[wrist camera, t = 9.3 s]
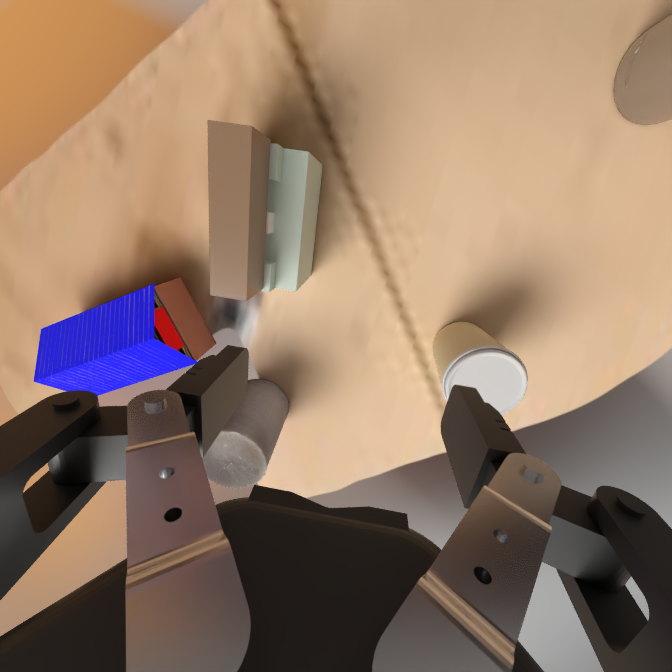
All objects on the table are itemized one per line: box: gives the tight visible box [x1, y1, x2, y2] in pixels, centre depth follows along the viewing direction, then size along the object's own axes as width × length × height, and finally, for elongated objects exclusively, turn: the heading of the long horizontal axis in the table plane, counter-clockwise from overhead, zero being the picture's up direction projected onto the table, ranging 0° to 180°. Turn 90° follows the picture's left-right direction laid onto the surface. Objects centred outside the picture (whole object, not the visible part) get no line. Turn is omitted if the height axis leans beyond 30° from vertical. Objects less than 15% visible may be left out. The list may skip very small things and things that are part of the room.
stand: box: [261, 143, 323, 292], centre depth 37 cm, size 10×14×12 cm
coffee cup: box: [432, 322, 528, 415], centre depth 41 cm, size 9×9×12 cm
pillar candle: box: [202, 379, 289, 488], centre depth 47 cm, size 10×10×15 cm
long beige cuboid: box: [208, 120, 271, 301], centre depth 29 cm, size 4×14×5 cm, turn 172°
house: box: [34, 277, 216, 396], centre depth 46 cm, size 12×20×12 cm, turn 110°
